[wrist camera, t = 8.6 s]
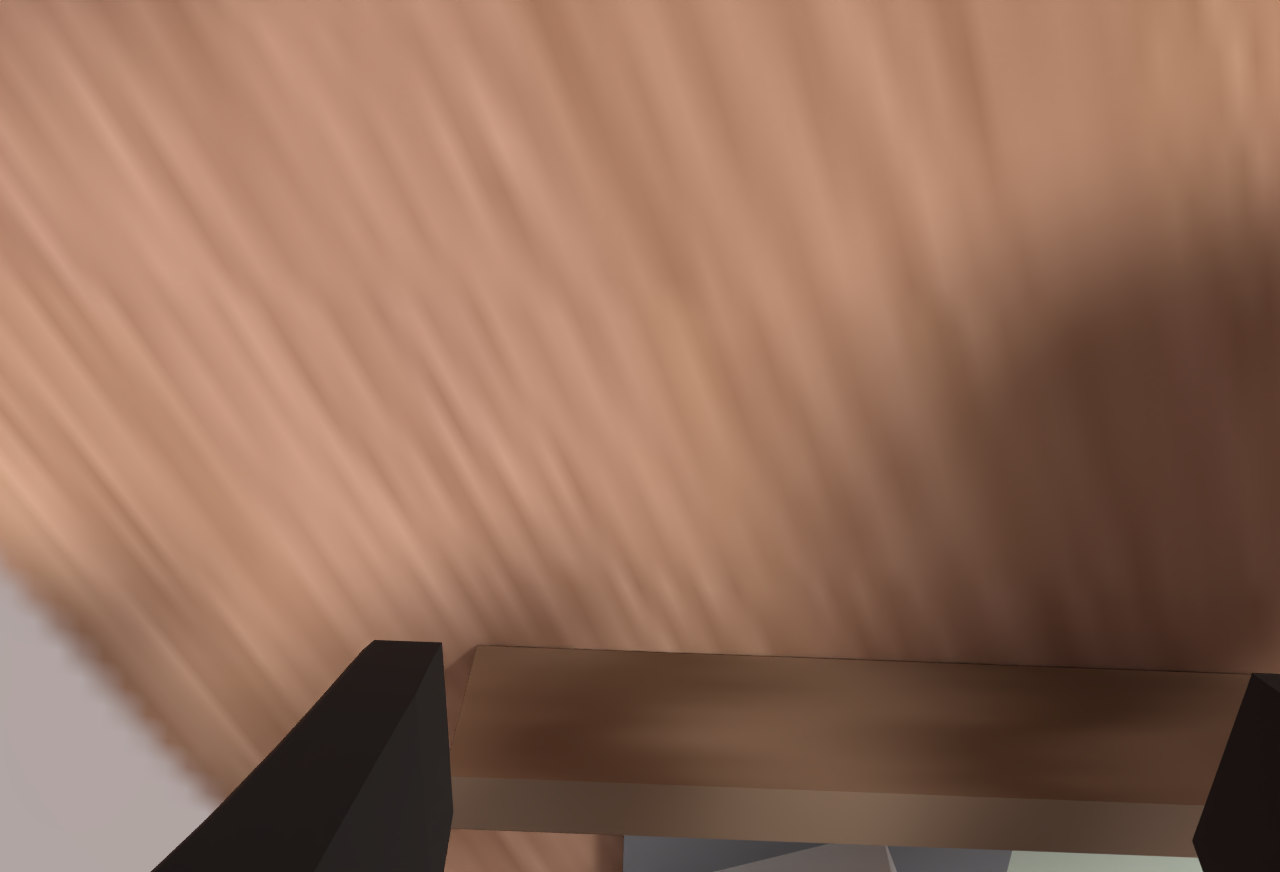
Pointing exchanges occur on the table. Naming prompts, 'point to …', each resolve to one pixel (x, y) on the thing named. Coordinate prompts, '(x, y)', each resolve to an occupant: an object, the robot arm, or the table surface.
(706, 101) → the table surface
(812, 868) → the lettered cube
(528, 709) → the walnut block
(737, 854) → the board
